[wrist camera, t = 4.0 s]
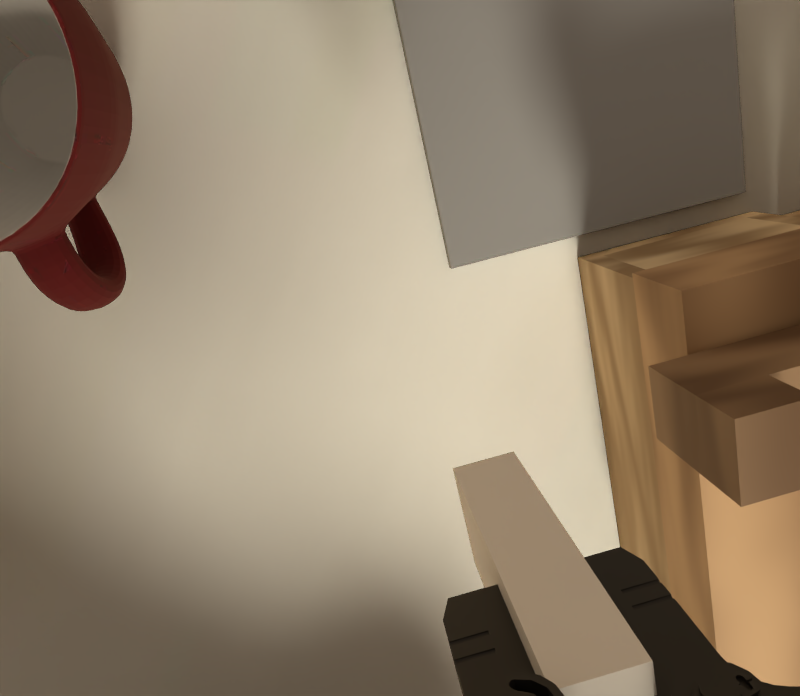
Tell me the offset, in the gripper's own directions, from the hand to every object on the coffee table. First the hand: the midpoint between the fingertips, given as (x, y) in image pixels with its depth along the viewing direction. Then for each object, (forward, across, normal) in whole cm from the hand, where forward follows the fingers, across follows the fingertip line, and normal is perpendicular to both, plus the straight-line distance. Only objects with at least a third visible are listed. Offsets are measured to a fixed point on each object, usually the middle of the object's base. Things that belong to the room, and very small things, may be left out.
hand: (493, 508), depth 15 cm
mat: (+13, +9, +13) cm, 20 cm away
